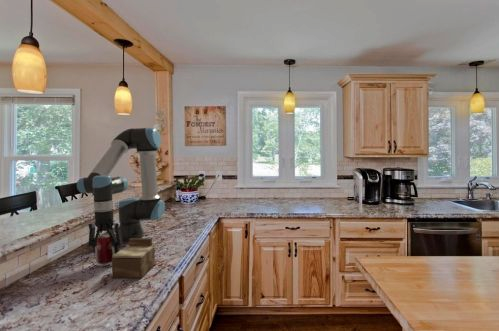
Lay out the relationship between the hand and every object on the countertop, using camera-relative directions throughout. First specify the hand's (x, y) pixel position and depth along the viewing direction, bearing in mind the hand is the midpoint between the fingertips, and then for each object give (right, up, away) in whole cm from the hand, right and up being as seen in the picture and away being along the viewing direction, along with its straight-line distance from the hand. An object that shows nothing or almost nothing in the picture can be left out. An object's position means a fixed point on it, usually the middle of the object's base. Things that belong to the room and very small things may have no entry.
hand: (106, 260), depth 132 cm
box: (+16, -3, -7) cm, 17 cm away
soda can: (0, -1, 0) cm, 1 cm away
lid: (+15, +6, -7) cm, 18 cm away
